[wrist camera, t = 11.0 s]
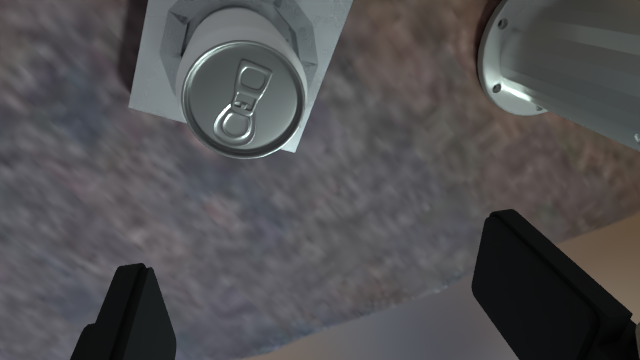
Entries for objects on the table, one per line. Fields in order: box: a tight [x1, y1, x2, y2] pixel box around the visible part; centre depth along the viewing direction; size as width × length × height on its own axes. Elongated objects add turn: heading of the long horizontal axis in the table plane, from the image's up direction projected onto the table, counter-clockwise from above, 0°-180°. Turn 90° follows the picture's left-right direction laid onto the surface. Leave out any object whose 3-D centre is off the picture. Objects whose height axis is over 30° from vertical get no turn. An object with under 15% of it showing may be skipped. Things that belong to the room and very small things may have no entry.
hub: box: [129, 0, 353, 153], centre depth 28 cm, size 13×13×5 cm
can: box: [176, 6, 308, 159], centre depth 23 cm, size 6×6×12 cm
